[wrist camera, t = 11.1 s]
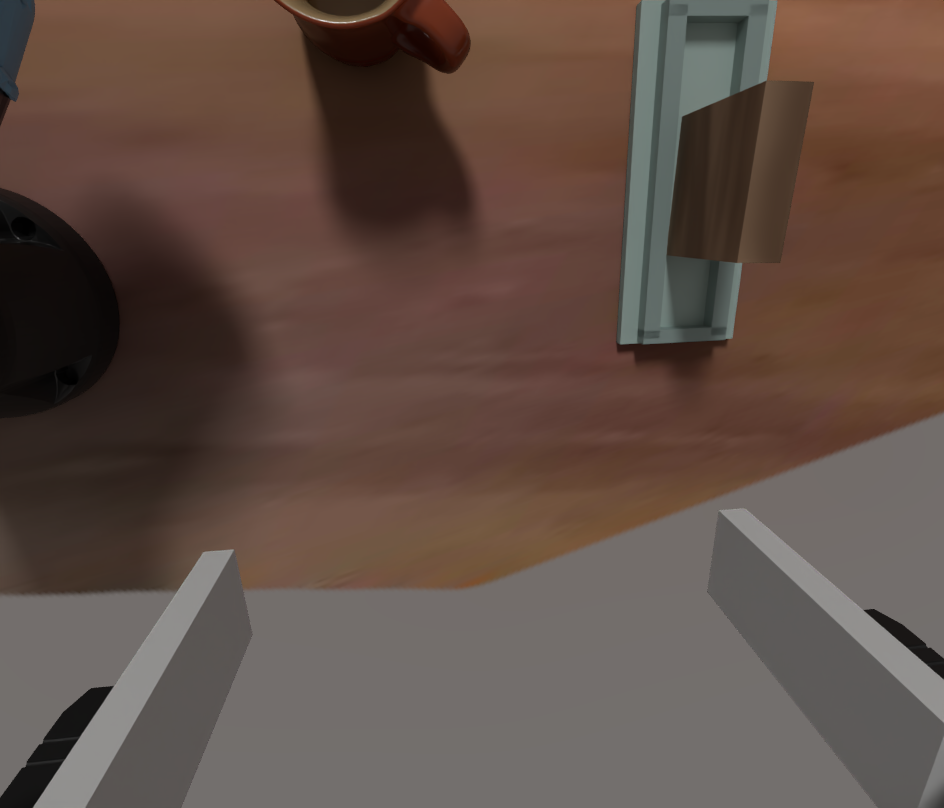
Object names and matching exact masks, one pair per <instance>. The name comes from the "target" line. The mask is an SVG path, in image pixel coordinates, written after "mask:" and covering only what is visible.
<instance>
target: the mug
mask: <svg viewBox="0 0 944 808" xmlns="http://www.w3.org/2000/svg"><path fill="white" fill-rule="evenodd" d="M274 1H275V2H277V3H278V4H279V5H280V6H282V7H283V8H284V9H285V10H287V11H288V12H290V13H291V14H293V16H294V18H295V20H296V22H297V24H298V25H299V27H300V28H301V30H302V31H303V33H304V34H305V35H306V37H307V38H308V39H309V40H310V41H311V42H312V43H313V44H314V45H315V46H316V47H317V48H319V49H320V50H321V51H323V52H324V53H326V54H327V55H329V56H331V57H332V58H334V59H336V60H337V61H340V62H342V63H344V64H348V65H352V66H363V67H368V66H371V65H375V64H379V63H382V62H384V61H386V60H388V59H389V58H391V57H392V56H393V55H394V54H395V53H396V52H397V51H398V50H399V49H400V50H402V51H403V52H405V53H406V54H408V55H410V56H413V57H415V58H417V59H419V60H421V61H423V62H425V63H426V64H428V65H429V66H431V67H432V68H434V69H436V70H438V71H440V72H442V73H447V74H450V73H454V72H455V71H456V70H458V68H459V67H460V66H461V65H462V63H463V62H464V60H465V59H466V57H467V55H468V53H469V50H470V45H471V40H470V36H469V33H468V30H467V28H466V27H465V25H464V23H463V22H462V20H461V19H460V18H459V17H458V15H457V14H456V13H455V12H454V11H453V9H452V8H451V7H450V6H449V5H448V4H447V3H446V2H445V1H444V0H274Z"/></svg>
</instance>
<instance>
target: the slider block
mask: <svg viewBox="0 0 944 808" xmlns="http://www.w3.org/2000/svg"><path fill="white" fill-rule="evenodd" d="M813 85H814V82H798V81H764V82H762V83H760V84H757V85H755V86H753V87H750V88H748V89H745V90H743V91H741V92H738V93H736V94H734V95H731V96H729V97H727V98H724V99H722V100H720V101H717V102H715V103H713V104H710V105H708V106H706V107H703V108H701V109H699V110H696V111H694V112H692V113H689V114H687V115H684V116H682V121H681V129H680V138H679V146H678V155H677V164H676V172H675V181H674V189H673V198H672V206H671V215H670V223H669V232H668V243H667V254H666V255H668V256H677V257H687V258H696V259H705V260H714V261H723V262H732V263H780V261H781V256H782V251H783V245H784V240H785V235H786V229H787V224H788V219H789V213H790V208H791V203H792V197H793V192H794V186H795V181H796V176H797V170H798V165H799V160H800V154H801V149H802V144H803V138H804V133H805V128H806V122H807V117H808V112H809V106H810V101H811V96H812V90H813Z"/></svg>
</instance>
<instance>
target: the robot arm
mask: <svg viewBox="0 0 944 808" xmlns="http://www.w3.org/2000/svg"><path fill="white" fill-rule="evenodd" d="M34 17H35V3H34V0H0V125H1V123H2V120H3V118H4V115H5V113H6V110H7V108H8V105H9V102H10V100H13V101H15V102H16V100H17V98H18V95H19V91H18V87H17V85H16V83H15V81H16V77H17V74H18V71H19V68H20V64H21V61H22V58H23V55H24V51H25V48H26V45H27V42H28V38H29V35H30V32H31V29H32V25H33V22H34ZM118 334H119V313H118V306H117V301H116V297H115V294H114V290H113V288H112V285H111V282H110V280H109V278H108V276H107V273H106V271H105V270H104V268H103V266H102V264H101V263H100V261H99V259H98V258H97V256H96V255H95V253H94V252H93V251H92V249H91V248H90V247H89V246H88V244H87V243H86V242H85V241H84V240H83V239H82V237H81V236H80V235H79V234H78V233H77V232H76V231H75V230H74V229H73V228H72V227H70V226H69V225H68V224H67V223H66V222H65V221H64V220H62V219H61V218H60V217H58V216H57V215H56V214H54V213H53V212H51V211H50V210H48V209H47V208H45V207H43V206H42V205H40V204H38V203H37V202H35V201H33V200H31V199H29V198H27V197H24V196H22V195H20V194H17V193H14V192H12V191H9V190H6V189H2V188H0V418H12V417H21V416H27V415H31V414H36V413H39V412H43V411H46V410H49V409H51V408H54V407H56V406H58V405H60V404H62V403H64V402H66V401H68V400H70V399H72V398H74V397H76V396H78V395H80V394H81V393H83V392H85V391H86V390H87V389H89V388H90V387H91V386H92V385H93V384H94V383H96V382H97V380H98V379H99V378H100V377H101V376H102V375H103V373H104V372H105V370H106V369H107V367H108V366H109V364H110V362H111V360H112V358H113V355H114V353H115V349H116V346H117V341H118ZM707 592H708V593H709V595H710V596H711V597H712V598H713V600H714V601H715V602H716V604H717V605H718V606H719V607H720V609H721V610H722V611H723V612H724V614H725V615H726V616H727V618H728V619H729V620H730V621H731V623H732V624H733V625H734V626H735V628H736V629H737V630H738V631H739V633H740V634H741V635H742V637H743V638H744V639H745V640H746V642H747V643H748V644H749V645H750V647H751V648H752V649H753V650H754V652H755V653H756V654H757V655H758V657H759V658H760V659H761V661H762V662H763V663H764V664H765V666H766V667H767V668H768V669H769V671H770V672H771V673H772V675H773V676H774V677H775V678H776V680H777V681H778V682H779V683H780V684H781V686H782V687H783V688H784V690H785V691H786V692H787V693H788V695H789V696H790V697H791V699H792V700H793V701H794V702H795V704H796V705H797V706H798V707H799V709H800V710H801V711H802V712H803V714H804V715H805V716H806V718H807V719H808V720H809V721H810V723H811V724H812V725H813V726H814V728H815V729H816V730H817V731H818V733H819V734H820V735H821V737H822V738H823V739H824V740H825V742H826V743H827V744H828V745H829V747H830V748H831V749H832V750H833V752H834V753H835V754H836V756H837V757H838V758H839V759H840V760H841V762H842V763H843V764H844V766H845V767H846V768H847V769H848V771H849V772H850V773H851V774H852V776H853V777H854V778H855V780H856V781H857V782H858V783H859V785H860V786H861V787H862V788H863V790H864V791H865V792H866V794H867V795H868V796H869V797H870V799H871V800H872V801H873V802H874V804H875V805H876V806H877V807H878V808H944V658H942V657H941V656H940V655H939V654H938V653H936V652H935V651H934V650H933V649H932V648H927V646H926V644H925V643H924V642H923V641H922V640H920V639H919V638H918V637H917V636H916V635H914V634H913V633H912V632H911V631H909V630H908V629H907V628H906V627H905V626H903V625H902V624H900V623H898V622H897V621H895V620H893V619H891V618H889V617H888V616H886V615H884V614H882V613H880V612H878V611H877V610H875V609H869V610H862V609H861V608H860V607H859V606H858V605H856V604H855V603H854V602H853V601H852V600H851V599H849V598H848V597H847V596H846V595H845V594H844V593H843V592H841V591H840V590H839V589H838V588H837V587H836V586H834V585H833V584H832V583H831V582H830V581H829V580H827V579H826V578H825V577H824V576H823V575H821V573H819V572H818V571H817V570H816V569H815V568H814V567H812V566H811V565H810V564H809V563H808V562H807V561H805V560H804V559H803V558H802V557H801V556H799V555H798V554H797V553H796V552H795V551H794V550H793V549H792V548H790V547H789V546H788V545H787V544H786V543H785V542H783V541H782V540H781V539H780V538H779V537H778V536H776V535H775V534H774V533H773V532H772V531H771V530H769V529H768V528H767V527H766V526H765V525H764V524H763V523H761V522H760V521H759V520H758V519H757V518H755V517H754V516H753V515H752V514H751V513H750V512H749V511H747V510H746V509H745V508H741V509H729V510H719V512H718V519H717V526H716V533H715V540H714V548H713V555H712V561H711V569H710V576H709V583H708V591H707ZM251 637H252V631H251V625H250V620H249V616H248V611H247V606H246V602H245V597H244V592H243V588H242V583H241V578H240V573H239V569H238V564H237V559H236V555H235V550H221V551H209V552H203V554H202V555H201V557H200V558H199V560H198V561H197V563H196V564H195V566H194V567H193V569H192V570H191V572H190V573H189V575H188V576H187V578H186V579H185V581H184V582H183V584H182V585H181V587H180V588H179V590H178V591H177V593H176V594H175V596H174V597H173V599H172V600H171V602H170V603H169V605H168V606H167V608H166V609H165V611H164V612H163V614H162V615H161V617H160V618H159V620H158V621H157V623H156V624H155V626H154V627H153V629H152V630H151V632H150V633H149V635H148V636H147V638H146V639H145V641H144V642H143V644H142V645H141V647H140V648H139V650H138V651H137V653H136V654H135V656H134V657H133V659H132V660H131V662H130V663H129V665H128V666H127V668H126V669H125V671H124V672H123V674H122V675H121V677H120V678H119V680H118V681H117V683H116V684H115V686H110V687H99V688H91V689H90V690H88V691H87V692H86V693H85V694H84V695H83V696H81V697H80V698H79V699H78V700H77V701H76V702H75V703H73V704H72V705H71V706H70V707H69V708H67V709H66V710H65V711H64V712H63V713H62V714H61V716H60V717H59V719H58V720H57V721H56V723H55V724H54V725H53V727H52V728H51V729H50V731H49V732H48V734H47V735H46V736H45V738H44V741H43V744H40V745H39V746H38V747H37V748H36V750H35V751H34V753H33V754H32V755H31V757H30V758H29V759H28V761H27V765H26V767H25V768H22V769H21V770H20V771H19V773H18V774H17V776H16V777H15V778H14V780H13V781H12V782H11V784H10V785H9V786H8V788H7V789H6V791H5V792H4V793H3V795H2V796H1V797H0V808H181V807H182V804H183V802H184V799H185V797H186V794H187V792H188V789H189V787H190V785H191V782H192V780H193V777H194V775H195V772H196V770H197V768H198V765H199V763H200V761H201V758H202V756H203V753H204V751H205V748H206V746H207V743H208V741H209V739H210V736H211V734H212V731H213V729H214V727H215V724H216V722H217V719H218V717H219V714H220V712H221V710H222V707H223V705H224V702H225V700H226V697H227V695H228V693H229V690H230V688H231V685H232V683H233V680H234V678H235V675H236V673H237V671H238V668H239V666H240V664H241V661H242V659H243V656H244V654H245V651H246V649H247V646H248V644H249V642H250V639H251Z"/></svg>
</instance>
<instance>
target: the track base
mask: <svg viewBox="0 0 944 808" xmlns="http://www.w3.org/2000/svg"><path fill="white" fill-rule="evenodd" d="M776 8H777V1H769V0H642V1H641V2H640V3H639V4H638V5H637V9H636V25H635V42H634V59H633V75H632V92H631V109H630V125H629V142H628V158H627V175H626V192H625V208H624V225H623V242H622V258H621V275H620V291H619V308H618V325H617V341H616V342H617V343H619V344H637V343H642V344H657V343H676V342H695V341H714V340H725V339H731V338H732V336H733V329H734V321H735V314H736V306H737V299H738V291H739V284H740V277H741V269H742V263H732V262H723V261H714V260H705V259H696V258H687V257H677V256H668V255H666V254H667V243H668V232H669V223H670V215H671V206H672V198H673V189H674V181H675V172H676V164H677V155H678V146H679V138H680V129H681V121H682V116H684V115H687V114H689V113H692V112H694V111H696V110H699V109H701V108H703V107H706V106H708V105H710V104H713V103H715V102H717V101H720V100H722V99H724V98H727V97H729V96H731V95H734V94H736V93H738V92H741V91H743V90H745V89H748V88H750V87H753V86H755V85H757V84H760V83H762V82H764V81H767V75H768V67H769V60H770V53H771V45H772V38H773V30H774V23H775V15H776Z"/></svg>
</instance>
